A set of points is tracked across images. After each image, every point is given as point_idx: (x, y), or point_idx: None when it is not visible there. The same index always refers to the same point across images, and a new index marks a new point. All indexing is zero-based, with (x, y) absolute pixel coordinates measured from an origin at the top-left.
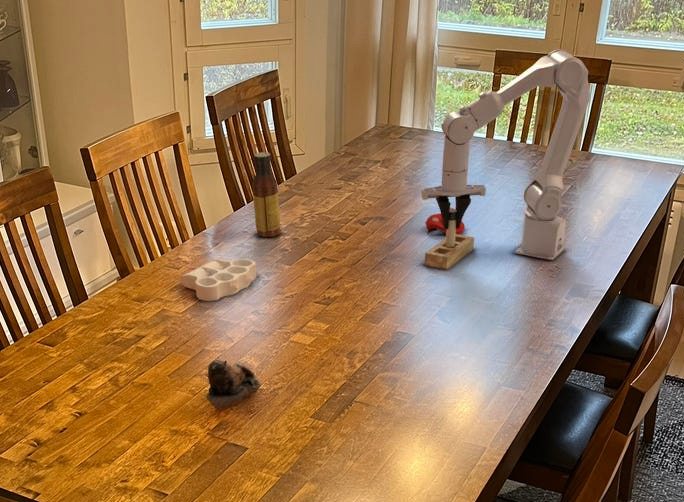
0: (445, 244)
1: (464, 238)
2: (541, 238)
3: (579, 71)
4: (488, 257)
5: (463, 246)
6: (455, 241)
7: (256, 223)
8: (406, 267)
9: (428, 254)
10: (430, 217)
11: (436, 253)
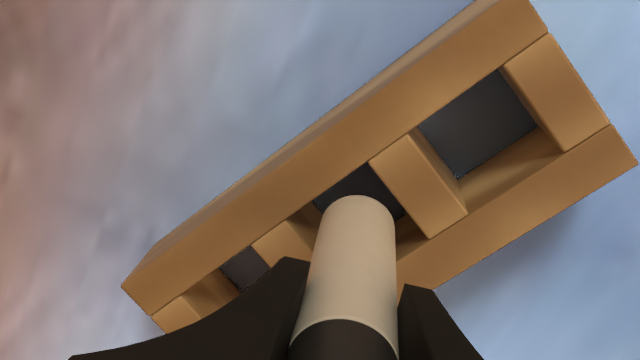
0: (321, 219)
1: (553, 137)
2: None
3: None
4: (605, 297)
5: (449, 277)
6: (435, 182)
7: None
8: (37, 231)
9: (141, 302)
10: None
11: None
